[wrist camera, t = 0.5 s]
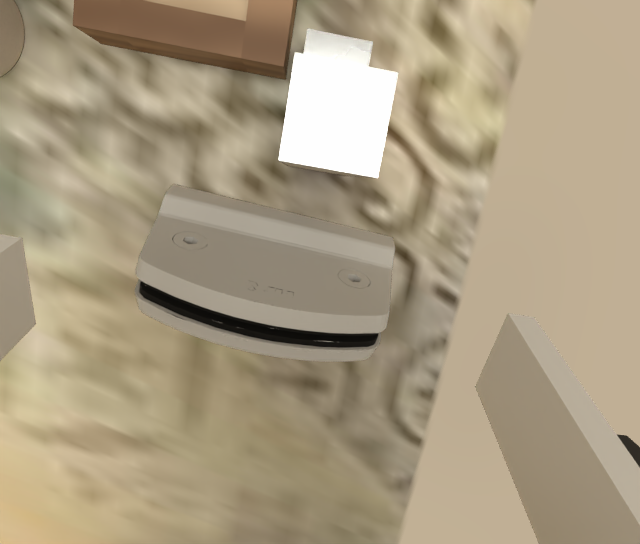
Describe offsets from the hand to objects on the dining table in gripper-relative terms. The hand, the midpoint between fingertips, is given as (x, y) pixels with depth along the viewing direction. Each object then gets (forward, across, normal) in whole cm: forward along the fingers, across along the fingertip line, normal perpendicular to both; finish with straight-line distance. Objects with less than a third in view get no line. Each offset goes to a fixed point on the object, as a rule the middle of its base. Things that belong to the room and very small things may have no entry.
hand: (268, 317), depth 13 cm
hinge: (+19, +1, +8) cm, 21 cm away
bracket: (+22, -1, -2) cm, 22 cm away
